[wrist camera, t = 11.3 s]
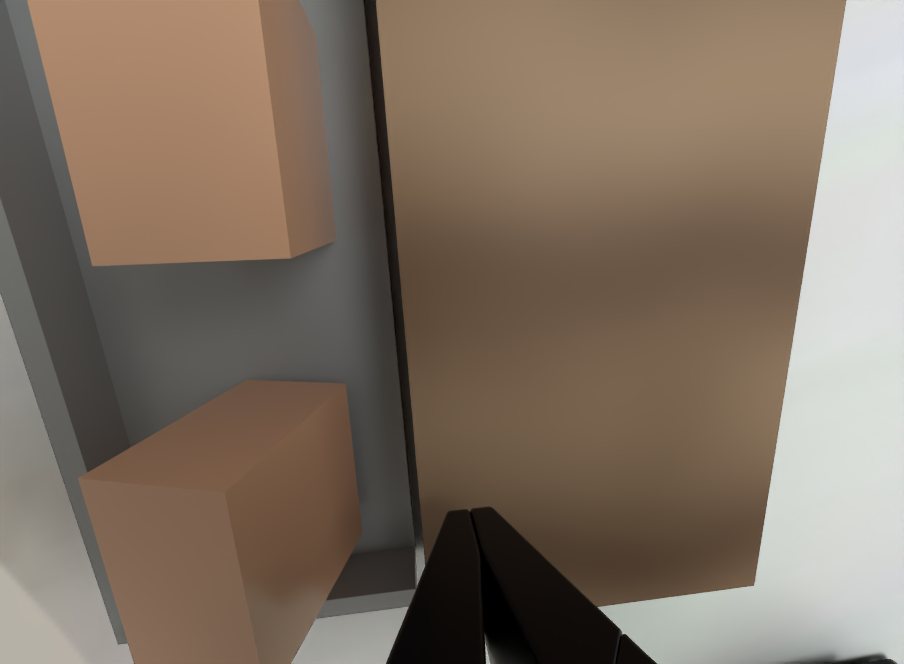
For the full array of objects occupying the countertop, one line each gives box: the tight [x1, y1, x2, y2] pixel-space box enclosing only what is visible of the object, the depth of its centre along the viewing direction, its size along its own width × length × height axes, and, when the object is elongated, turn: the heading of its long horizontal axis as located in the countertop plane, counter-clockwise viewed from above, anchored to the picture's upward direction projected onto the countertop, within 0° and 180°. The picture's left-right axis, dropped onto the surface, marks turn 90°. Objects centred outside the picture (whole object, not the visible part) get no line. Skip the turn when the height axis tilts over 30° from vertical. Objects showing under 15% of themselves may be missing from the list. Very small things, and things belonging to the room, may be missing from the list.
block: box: [27, 0, 336, 266], centre depth 7 cm, size 4×4×2 cm
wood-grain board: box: [376, 0, 846, 607], centre depth 10 cm, size 15×8×2 cm, turn 3°
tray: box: [0, 0, 417, 644], centre depth 9 cm, size 15×7×2 cm, turn 3°
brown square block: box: [78, 380, 362, 664], centre depth 9 cm, size 4×4×2 cm
